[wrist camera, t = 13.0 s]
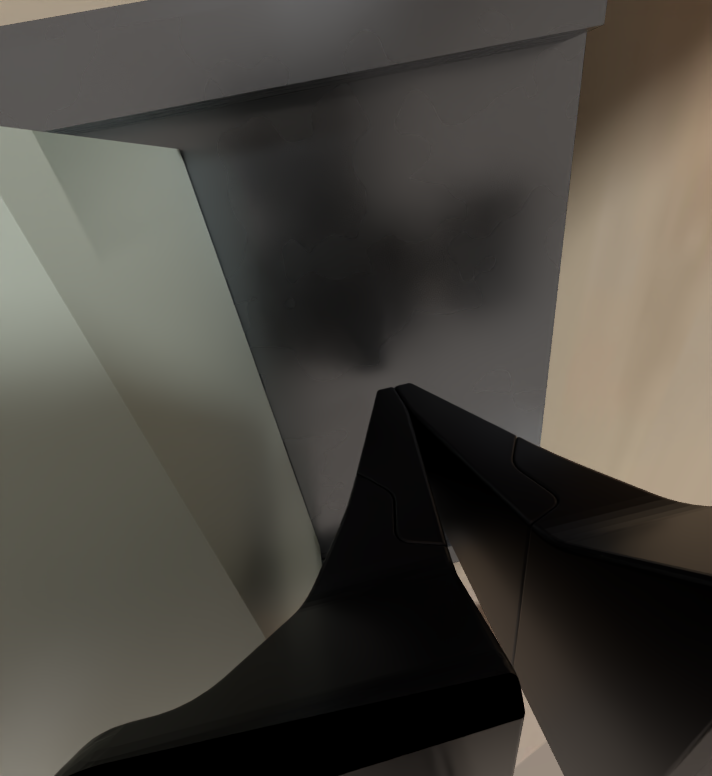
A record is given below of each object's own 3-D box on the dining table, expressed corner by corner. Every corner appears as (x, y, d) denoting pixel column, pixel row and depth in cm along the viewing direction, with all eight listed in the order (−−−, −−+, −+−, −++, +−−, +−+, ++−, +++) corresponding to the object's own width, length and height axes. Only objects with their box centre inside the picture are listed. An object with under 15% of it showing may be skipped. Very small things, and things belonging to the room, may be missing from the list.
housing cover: (179, 148, 7) (-43, 121, 2) (320, 547, 13) (341, 765, 9) (-279, 239, 7) (-1787, 447, 2) (89, 606, 13) (-25, 872, 8)
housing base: (556, -47, 8) (943, -340, 3) (515, 501, 16) (604, 631, 12) (-429, 129, 7) (-1872, 64, 2) (80, 614, 15) (-4, 802, 11)
